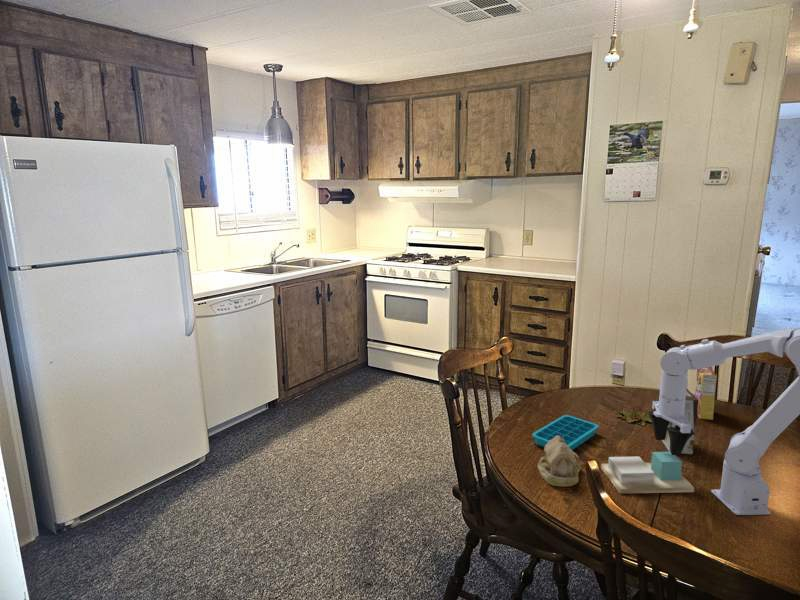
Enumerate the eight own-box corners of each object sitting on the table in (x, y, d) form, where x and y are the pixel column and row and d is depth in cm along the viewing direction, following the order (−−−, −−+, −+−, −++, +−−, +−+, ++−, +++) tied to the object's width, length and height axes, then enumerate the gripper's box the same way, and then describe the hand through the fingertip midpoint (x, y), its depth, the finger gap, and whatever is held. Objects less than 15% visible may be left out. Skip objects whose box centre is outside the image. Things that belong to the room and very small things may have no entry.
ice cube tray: (599, 434, 154) (600, 425, 153) (565, 458, 141) (566, 448, 140) (565, 422, 162) (565, 414, 162) (529, 444, 149) (530, 434, 148)
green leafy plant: (608, 419, 165) (609, 406, 164) (625, 408, 172) (626, 396, 171) (646, 431, 156) (647, 417, 155) (662, 419, 164) (663, 406, 163)
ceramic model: (535, 458, 141) (536, 424, 139) (576, 460, 139) (578, 426, 137) (541, 486, 127) (542, 449, 125) (587, 489, 125) (589, 452, 123)
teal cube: (680, 479, 126) (682, 461, 125) (660, 480, 126) (662, 462, 125) (669, 469, 131) (671, 451, 130) (650, 469, 131) (652, 452, 130)
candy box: (692, 407, 171) (696, 365, 168) (707, 409, 169) (711, 366, 166) (697, 418, 162) (702, 373, 159) (713, 420, 161) (718, 375, 158)
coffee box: (693, 454, 140) (699, 400, 137) (668, 452, 142) (673, 399, 138) (682, 439, 149) (688, 388, 146) (659, 437, 150) (663, 386, 147)
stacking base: (693, 492, 123) (695, 476, 122) (620, 493, 123) (621, 477, 122) (668, 466, 135) (669, 452, 134) (600, 467, 135) (601, 453, 134)
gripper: (642, 385, 131) (638, 433, 134) (671, 408, 117) (666, 461, 120) (669, 385, 131) (664, 433, 134) (702, 407, 117) (696, 461, 120)
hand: (667, 446), depth 127 cm, fingers open, 7 cm apart
